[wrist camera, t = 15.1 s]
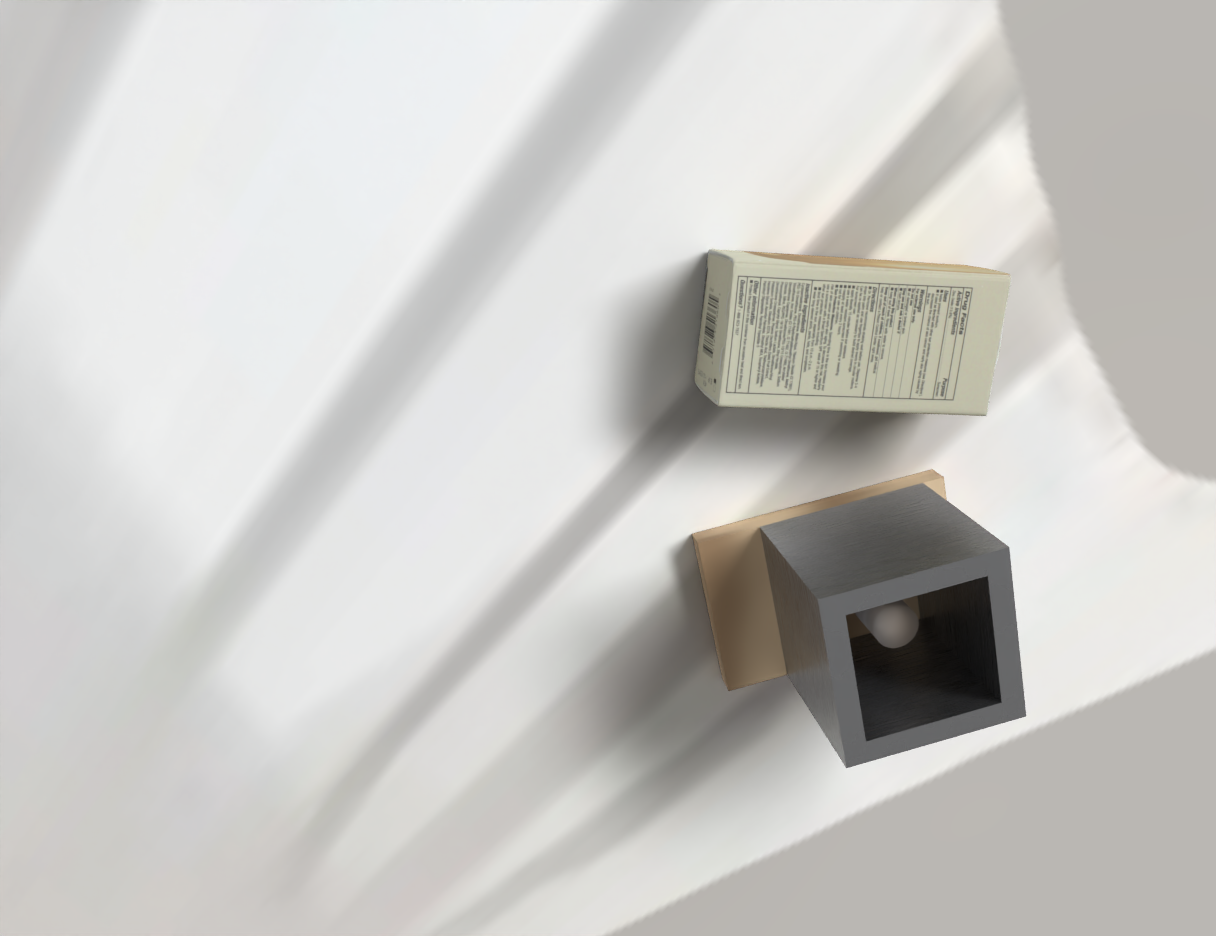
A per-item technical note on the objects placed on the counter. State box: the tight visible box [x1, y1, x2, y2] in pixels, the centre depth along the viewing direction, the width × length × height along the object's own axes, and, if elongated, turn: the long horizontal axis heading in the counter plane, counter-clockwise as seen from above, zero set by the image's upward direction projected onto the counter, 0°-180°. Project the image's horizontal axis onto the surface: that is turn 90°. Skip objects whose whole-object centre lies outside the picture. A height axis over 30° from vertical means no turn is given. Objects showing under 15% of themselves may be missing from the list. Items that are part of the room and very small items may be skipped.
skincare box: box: [694, 249, 1012, 416], centre depth 46 cm, size 6×4×12 cm
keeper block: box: [692, 469, 946, 691], centre depth 50 cm, size 12×8×6 cm, turn 103°
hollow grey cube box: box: [760, 483, 1026, 768], centre depth 48 cm, size 8×8×8 cm
